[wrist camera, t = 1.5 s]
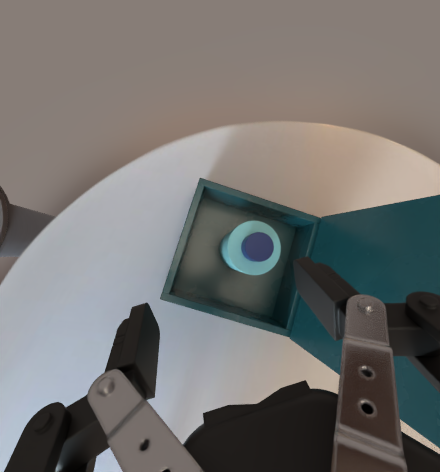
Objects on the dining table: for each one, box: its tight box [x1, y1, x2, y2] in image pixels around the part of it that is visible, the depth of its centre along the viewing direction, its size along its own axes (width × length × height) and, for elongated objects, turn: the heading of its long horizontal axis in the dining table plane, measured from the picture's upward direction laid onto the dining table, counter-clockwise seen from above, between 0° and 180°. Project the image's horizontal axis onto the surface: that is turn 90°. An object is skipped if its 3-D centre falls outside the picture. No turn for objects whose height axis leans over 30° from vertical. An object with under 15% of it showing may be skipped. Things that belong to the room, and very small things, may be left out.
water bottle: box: [219, 221, 281, 275], centre depth 28 cm, size 6×6×11 cm
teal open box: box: [160, 178, 321, 337], centre depth 31 cm, size 16×15×6 cm
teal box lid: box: [290, 195, 440, 448], centre depth 21 cm, size 16×15×5 cm
